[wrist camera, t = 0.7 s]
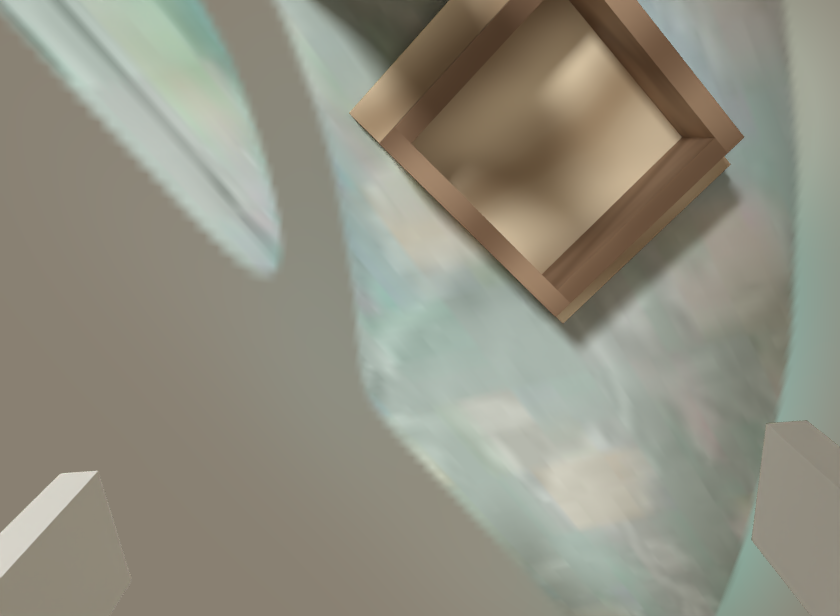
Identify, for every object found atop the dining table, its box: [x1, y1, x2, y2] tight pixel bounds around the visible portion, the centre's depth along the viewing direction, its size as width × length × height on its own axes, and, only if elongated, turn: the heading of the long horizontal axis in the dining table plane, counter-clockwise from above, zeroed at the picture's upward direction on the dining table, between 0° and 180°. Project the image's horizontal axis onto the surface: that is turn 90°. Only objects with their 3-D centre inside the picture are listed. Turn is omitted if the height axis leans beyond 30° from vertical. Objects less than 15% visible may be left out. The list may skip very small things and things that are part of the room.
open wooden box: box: [349, 0, 744, 323], centre depth 28 cm, size 16×12×4 cm
